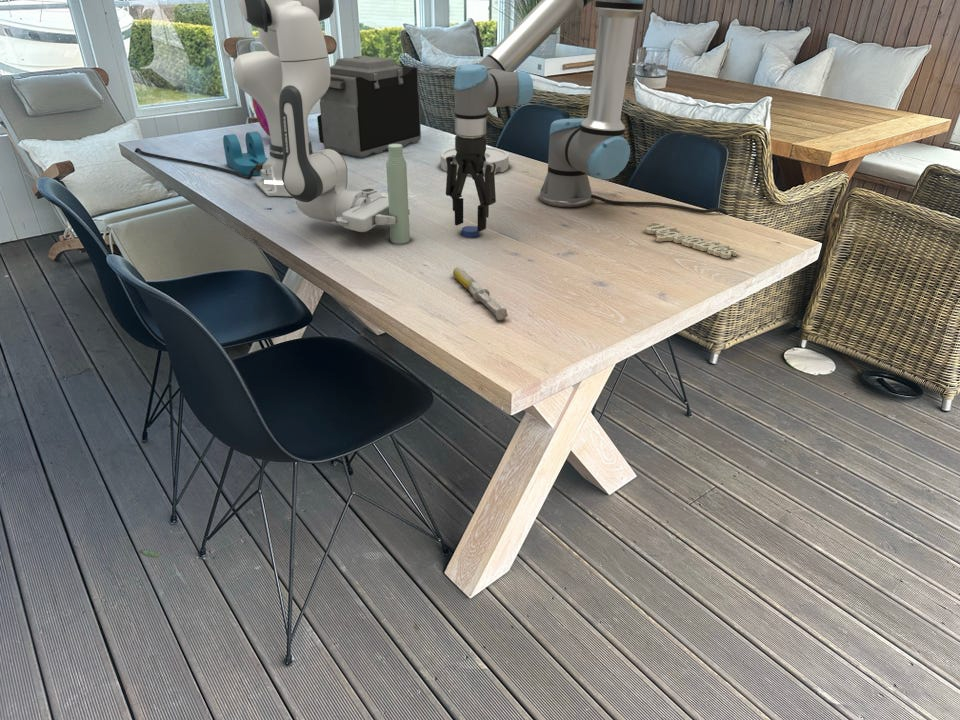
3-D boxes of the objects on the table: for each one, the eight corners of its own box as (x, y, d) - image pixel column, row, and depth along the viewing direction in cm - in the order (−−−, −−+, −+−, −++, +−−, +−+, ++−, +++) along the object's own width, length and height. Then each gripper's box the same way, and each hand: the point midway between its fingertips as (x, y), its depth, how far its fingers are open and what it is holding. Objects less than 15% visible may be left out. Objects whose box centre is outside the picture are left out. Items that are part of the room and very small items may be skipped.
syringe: (449, 274, 155) (449, 263, 153) (465, 272, 156) (464, 260, 154) (490, 323, 135) (491, 310, 133) (508, 319, 136) (508, 307, 134)
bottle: (397, 235, 176) (392, 142, 164) (413, 239, 174) (409, 144, 162) (386, 241, 172) (381, 146, 161) (403, 245, 171) (398, 148, 159)
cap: (457, 234, 178) (457, 228, 177) (471, 230, 180) (471, 224, 180) (469, 238, 175) (469, 233, 174) (482, 235, 177) (482, 229, 177)
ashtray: (443, 157, 245) (443, 145, 243) (508, 158, 244) (508, 146, 242) (437, 174, 225) (437, 162, 223) (508, 176, 224) (508, 163, 222)
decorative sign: (632, 229, 179) (655, 221, 185) (631, 232, 179) (654, 224, 185) (722, 258, 162) (744, 248, 168) (721, 262, 162) (743, 252, 168)
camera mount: (227, 164, 233) (221, 132, 227) (257, 160, 238) (252, 129, 233) (244, 176, 220) (239, 143, 215) (276, 172, 225) (271, 139, 220)
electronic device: (383, 133, 276) (378, 52, 261) (425, 141, 265) (422, 56, 250) (314, 150, 251) (304, 61, 235) (358, 160, 240) (350, 67, 224)
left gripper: (329, 208, 165) (379, 216, 160) (374, 186, 181) (421, 193, 176) (332, 233, 168) (380, 242, 163) (376, 209, 184) (421, 216, 179)
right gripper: (513, 138, 163) (509, 231, 174) (448, 126, 172) (449, 215, 184) (494, 143, 157) (492, 239, 169) (429, 131, 167) (431, 222, 179)
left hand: (402, 216), depth 170 cm, fingers closed on bottle, 5 cm apart
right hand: (470, 226), depth 177 cm, fingers open, 7 cm apart
